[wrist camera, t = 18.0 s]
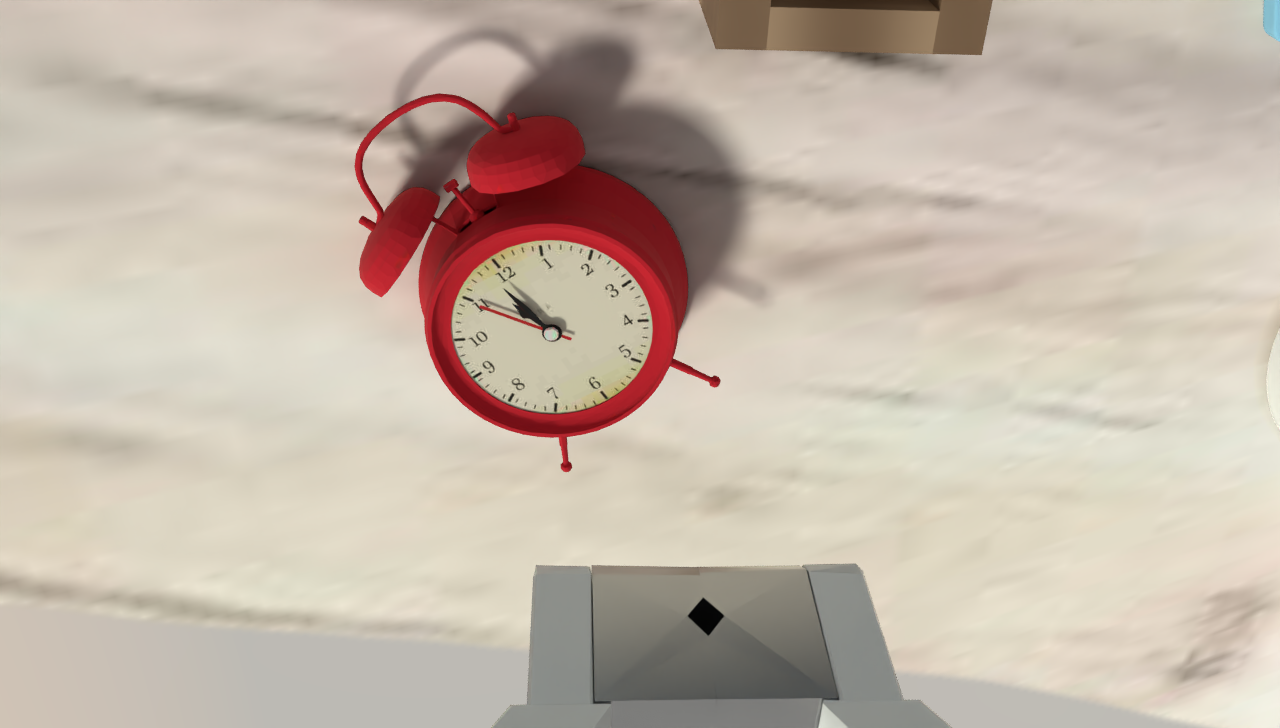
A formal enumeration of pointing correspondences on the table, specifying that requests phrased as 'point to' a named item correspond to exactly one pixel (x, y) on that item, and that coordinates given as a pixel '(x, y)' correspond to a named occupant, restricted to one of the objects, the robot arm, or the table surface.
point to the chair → (1272, 18)
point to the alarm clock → (536, 280)
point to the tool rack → (850, 25)
